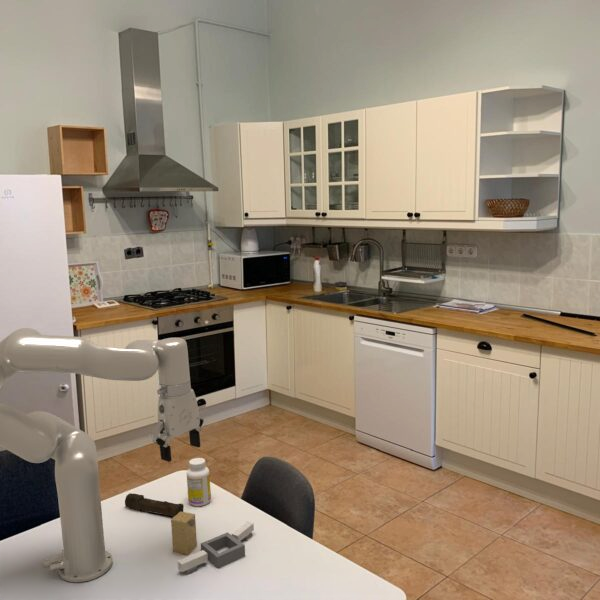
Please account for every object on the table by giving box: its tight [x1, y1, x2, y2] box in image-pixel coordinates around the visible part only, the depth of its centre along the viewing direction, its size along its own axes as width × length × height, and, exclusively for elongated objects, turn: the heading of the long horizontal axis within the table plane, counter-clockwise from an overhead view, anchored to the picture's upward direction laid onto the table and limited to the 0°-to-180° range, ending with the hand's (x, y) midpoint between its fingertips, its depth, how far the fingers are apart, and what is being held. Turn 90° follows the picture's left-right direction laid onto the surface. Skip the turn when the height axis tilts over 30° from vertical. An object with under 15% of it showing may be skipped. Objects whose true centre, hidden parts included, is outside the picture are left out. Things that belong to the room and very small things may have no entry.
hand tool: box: [124, 493, 185, 518], centre depth 182 cm, size 19×4×5 cm, turn 66°
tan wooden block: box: [170, 511, 198, 556], centre depth 161 cm, size 4×6×9 cm
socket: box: [177, 521, 255, 575], centre depth 159 cm, size 9×24×3 cm, turn 129°
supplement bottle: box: [186, 457, 212, 507], centre depth 186 cm, size 7×7×13 cm
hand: (181, 453), depth 159 cm, fingers open, 9 cm apart
